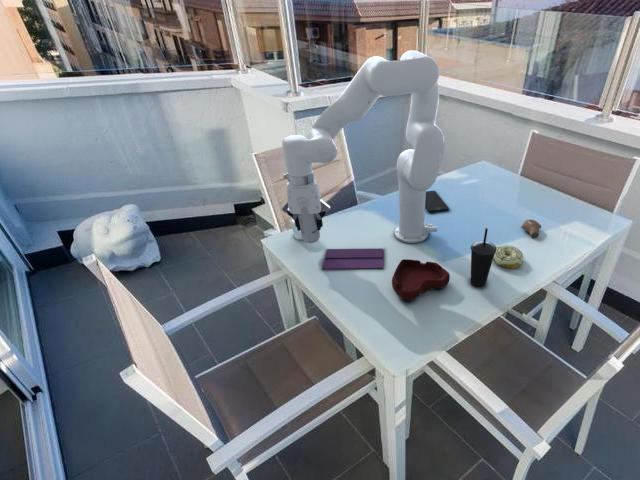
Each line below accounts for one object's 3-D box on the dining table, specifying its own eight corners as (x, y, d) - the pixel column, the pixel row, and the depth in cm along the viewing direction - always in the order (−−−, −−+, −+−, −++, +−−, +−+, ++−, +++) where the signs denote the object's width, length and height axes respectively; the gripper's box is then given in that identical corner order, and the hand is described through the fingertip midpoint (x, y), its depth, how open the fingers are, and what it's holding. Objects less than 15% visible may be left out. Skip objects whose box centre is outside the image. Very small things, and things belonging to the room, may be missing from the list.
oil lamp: (515, 234, 148) (535, 241, 144) (517, 226, 145) (537, 233, 141) (526, 222, 153) (545, 229, 149) (527, 214, 150) (547, 221, 146)
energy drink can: (318, 244, 130) (312, 203, 121) (300, 243, 130) (292, 203, 121) (322, 234, 135) (316, 195, 125) (304, 234, 135) (297, 194, 125)
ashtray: (424, 262, 131) (424, 250, 128) (453, 288, 120) (454, 276, 117) (378, 279, 124) (377, 267, 120) (405, 308, 113) (405, 296, 110)
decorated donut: (495, 270, 128) (496, 261, 126) (487, 252, 137) (489, 243, 134) (525, 269, 129) (527, 260, 126) (516, 251, 137) (518, 242, 135)
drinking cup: (491, 278, 125) (501, 224, 112) (487, 293, 119) (497, 238, 107) (468, 273, 127) (476, 220, 114) (463, 287, 121) (470, 232, 109)
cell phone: (429, 213, 158) (429, 211, 158) (416, 194, 172) (416, 192, 171) (449, 210, 161) (449, 208, 160) (434, 192, 174) (434, 190, 173)
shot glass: (307, 241, 141) (304, 224, 136) (289, 239, 142) (286, 222, 137) (314, 232, 146) (312, 215, 142) (297, 229, 147) (294, 213, 143)
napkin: (383, 250, 137) (383, 248, 136) (382, 268, 128) (382, 266, 128) (326, 250, 136) (326, 249, 136) (322, 269, 128) (322, 267, 127)
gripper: (269, 183, 115) (281, 234, 126) (327, 182, 116) (334, 234, 127) (275, 173, 121) (286, 223, 132) (330, 172, 122) (336, 222, 133)
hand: (309, 228), depth 130 cm, fingers closed on energy drink can, 6 cm apart
